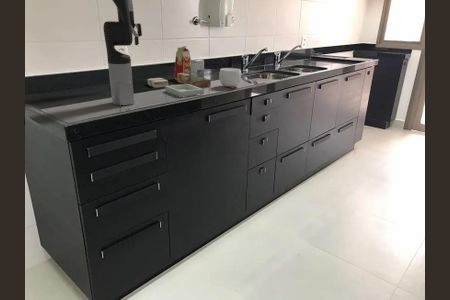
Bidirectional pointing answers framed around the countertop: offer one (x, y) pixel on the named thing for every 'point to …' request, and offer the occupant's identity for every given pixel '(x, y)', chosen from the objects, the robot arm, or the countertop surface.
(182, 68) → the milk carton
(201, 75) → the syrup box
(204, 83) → the socket
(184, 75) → the stop block
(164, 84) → the beige rectangular block
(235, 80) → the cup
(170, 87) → the tray
